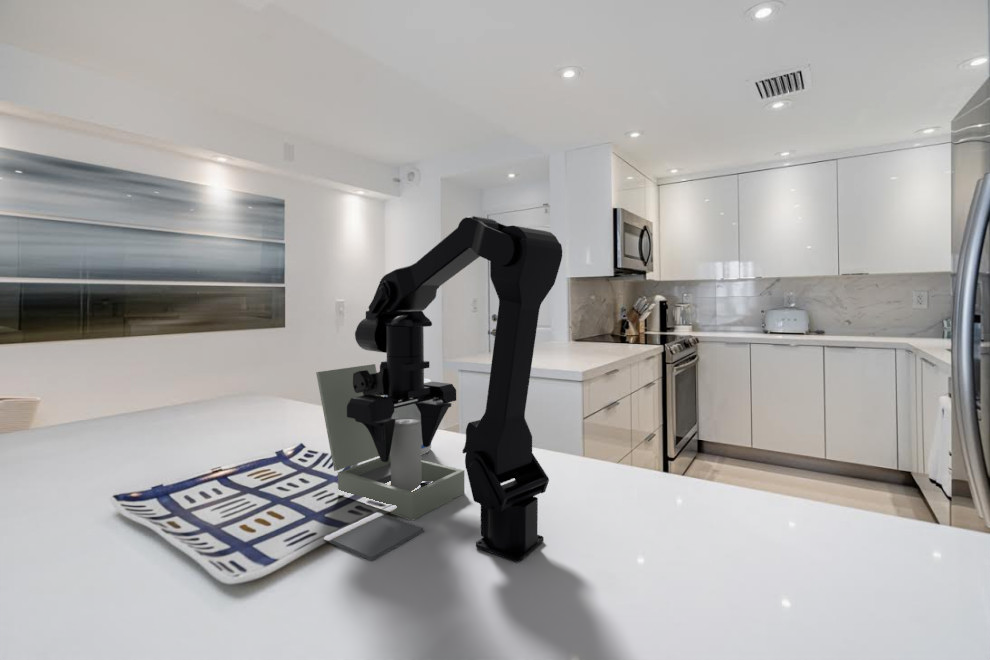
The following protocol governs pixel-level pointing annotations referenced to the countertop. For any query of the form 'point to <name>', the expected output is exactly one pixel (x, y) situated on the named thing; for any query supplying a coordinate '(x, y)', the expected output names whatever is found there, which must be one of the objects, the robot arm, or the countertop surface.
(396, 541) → the pad
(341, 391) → the lid
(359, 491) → the case
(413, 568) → the countertop surface
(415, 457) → the beverage can
